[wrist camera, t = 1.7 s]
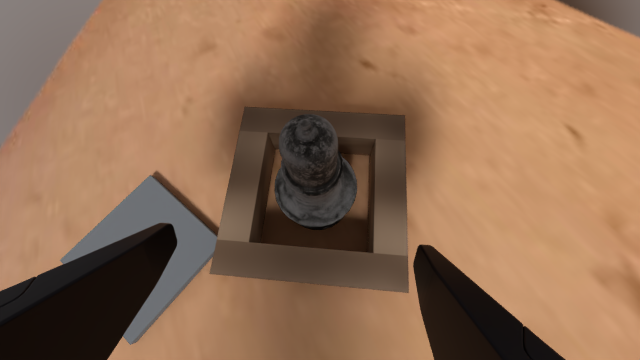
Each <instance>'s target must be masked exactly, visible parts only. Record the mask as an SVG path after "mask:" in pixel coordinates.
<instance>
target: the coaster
mask: <svg viewBox="0 0 640 360" xmlns="http://www.w3.org/2000/svg"><path fill="white" fill-rule="evenodd" d="M158 223H170V224H172V225H173V226H174V230H175V234H176V237H177V247H176V249H175V251H174V253H173V255H172V257H171V259H170V260H169V262H168V264H167V266H166V268H165V270H164V272H163V274H162V276H161V277H160V279H159V281H158V283H157V285H156V286H155V288H154V289H153V291H152V292H151V294H150V295H149V297H148V298H147V300H146V302H145V303H144V305H143V306H142V308H141V309H140V311H139V312H138V314H137V315H136V317H135V318H134V320H133V321H132V323H131V324H130V326H129V327H128V329H127V330H126V332H125V333H124V335H123V337H124V338H125V339H126V340H127V342H128V343H129V344H130V345H131V344H133V343H136V342H137V341H138V340H139V339H140V338H141V336H142V335H143V334H144V333H145V332H146V331H147V330H148V329H149V327H150V326H151V325H152V324H153V323H154V322H155V321H156V320H157V319H158V317H159V316H160V315H161V314H162V313H163V312H164V311H165V310H166V308H167V307H168V306H169V305H170V304H171V303H172V302H173V301H174V299H175V298H176V297H177V296H178V295H179V294H180V293H181V292H182V291H183V289H184V288H185V287H186V286H187V285H188V284H189V283H190V282H191V280H192V279H193V278H194V277H195V276H196V275H197V274H198V273H199V271H200V270H201V269H202V268H203V267H204V266H205V265H206V264H207V262H208V261H209V260H210V259H211V258H212V257H213V255H214V250H215V246H216V241H217V235H216V234H215V233H214V232H213V231H212V230H211V229H210V228H209V227H208V226H207V225H205V224H204V223H203V222H202V221H201V220H200V219H199V218H198V217H197V216H196V215H195V214H194V213H192V212H191V211H190V210H189V209H188V208H187V207H186V206H185V205H184V204H183V203H182V202H181V201H180V200H178V199H177V198H176V197H175V196H174V195H173V194H172V193H171V192H170V191H169V190H168V189H167V188H166V187H164V186H163V185H162V184H161V183H160V182H159V181H158V180H157V179H156V178H155V177H153V176H151V175H150V176H149V177H148V178H146V179H145V180H144V181H143V182H142V183H141V184H140V185H139V186H138V187H137V188H136V189H135V190H134V191H133V192H132V193H131V194H130V195H129V196H127V197H126V198H125V199H124V200H123V201H122V202H121V203H120V204H119V205H118V206H117V207H116V208H115V209H114V210H113V211H112V212H111V213H109V214H108V215H107V216H106V217H105V218H104V219H103V220H102V221H101V222H100V223H99V224H98V225H97V226H96V227H95V228H94V229H93V230H92V231H90V232H89V233H88V234H87V235H86V236H85V237H84V238H83V239H82V240H81V241H80V242H79V243H78V244H77V245H76V246H75V247H74V248H72V249H71V250H70V251H69V252H68V253H67V254H66V255H65V256H64V257H63V258H62V259H61V260H60V261H61V262H62V263H63V264H65V263H68V262H70V261H72V260H75V259H77V258H79V257H82V256H84V255H86V254H89V253H91V252H93V251H95V250H98V249H100V248H102V247H105V246H107V245H109V244H112V243H114V242H116V241H119V240H121V239H123V238H126V237H128V236H130V235H133V234H135V233H137V232H139V231H142V230H144V229H146V228H149V227H151V226H153V225H156V224H158Z"/></svg>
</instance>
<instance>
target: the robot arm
mask: <svg viewBox="0 0 640 360" xmlns="http://www.w3.org/2000/svg"><path fill="white" fill-rule="evenodd" d="M176 247H177V237H176V234H175V230H174V226H173V225H172V224H170V223H158V224H156V225H153V226H151V227H149V228H146V229H144V230H142V231H139V232H137V233H135V234H133V235H130V236H128V237H126V238H123V239H121V240H119V241H116V242H114V243H112V244H109V245H107V246H105V247H102V248H100V249H98V250H95V251H93V252H91V253H89V254H86V255H84V256H82V257H79V258H77V259H75V260H72V261H70V262H68V263H65V264H63V265H61V266H58V267H56V268H54V269H51V270H49V271H47V272H44V273H42V274H40V275H38V276H37V277H33V278H30V279H28V280H26V281H23V282H21V283H19V284H17V285H14V286H12V287H9V288H7V289H5V290H2V291H0V360H107V359H108V358H109V356H110V355H111V353H112V352H113V350H114V349H115V347H116V346H117V344H118V343H119V341H120V340H121V338H122V336H123V335H124V333H125V332H126V330H127V329H128V327H129V326H130V324H131V323H132V321H133V320H134V318H135V317H136V315H137V314H138V312H139V311H140V309H141V308H142V306H143V305H144V303H145V302H146V300H147V298H148V297H149V295H150V294H151V292H152V291H153V289H154V288H155V286H156V285H157V283H158V281H159V279H160V277H161V276H162V274H163V272H164V270H165V268H166V266H167V264H168V262H169V260H170V259H171V257H172V255H173V253H174V251H175V249H176ZM413 267H414V274H415V280H416V286H417V292H418V298H419V304H420V310H421V314H422V318H423V321H424V325H425V328H426V332H427V335H428V339H429V342H430V346H431V349H432V353H433V357H434V360H565V359H564V358H563V357H562V356H560V355H559V354H558V353H557V352H555V351H554V350H553V349H552V348H551V347H549V346H548V345H547V344H546V343H545V342H543V341H542V340H541V339H540V338H539V337H537V336H536V335H535V334H534V333H533V332H532V331H530V330H529V329H528V328H527V327H526V326H523V324H522V323H521V322H520V321H519V320H518V319H516V318H515V317H514V316H513V315H512V314H511V313H509V312H508V311H507V310H506V309H505V308H504V307H502V306H501V305H500V304H499V303H498V302H497V301H495V300H494V299H493V298H492V297H491V296H490V295H488V294H487V293H486V292H485V291H484V290H483V289H481V288H480V287H479V286H478V285H477V284H476V283H474V282H473V281H472V280H471V279H470V278H469V277H467V276H466V275H465V274H464V273H463V272H462V271H461V270H459V269H458V268H457V267H456V266H455V265H454V264H452V263H451V262H450V261H449V260H448V259H447V258H445V257H444V256H443V255H442V254H441V253H440V252H438V251H437V250H436V249H435V248H434V247H432V246H431V245H419V246H418V248H417V252H416V255H415V259H414V265H413Z"/></svg>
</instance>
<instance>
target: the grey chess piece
mask: <svg viewBox="0 0 640 360" xmlns="http://www.w3.org/2000/svg"><path fill="white" fill-rule="evenodd" d="M279 150H280V154H281V156H282V161H281V168H280V169H279V171H278V174H277V177H276V179H275V190H274V191H275V196H276V201H277V203H278V205H279V206H280V208H281V210H282V211H283V212H284V213H285V215H286V216H287V217H288V218H289V219H291V220H293V221H294V222H296V223H298V224H300V225H302V226H303V227H305V228H309V229H313V230H322V229H326V228H330V227H332V226H333V225H335V224H337V223H338V222H339V221H340V220H341V219H342V218H343V217H344V215H345V214H346V213H347V212H348V211H349V210H350V208H351V206H352V205H353V203H354V201H355V197H356V193H357V180H356V177H355V174H354V171H353V169H352V167H351V166H350V164H349V163H348V162H347V161H346V160H345V159H344V158H343V157H342V156H341V153H340V152H339V150H338V137H337V134H336V131H335V129H334V128H333V126H332V125H331V123H330V122H328V121H327V120H326V119H325V118H323V117H321V116H318V115H314V114H303V115H299V116H296V117H295V118H293V119H291V120H290V121H289V122H287V123H286V124H285V126H284V127H283V129H282V130H281V133H280V136H279Z"/></svg>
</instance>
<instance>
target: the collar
mask: <svg viewBox="0 0 640 360" xmlns="http://www.w3.org/2000/svg"><path fill="white" fill-rule="evenodd" d="M303 114H314V115H318V116H321V117H323V118H325V119H326V120H327V121H328V122H330V123H331V125H332V126H333V128H334V129H335V131H336V134H337V137H338V150H339V152H340V153H344V154H360V155H370V171H369V209H368V247H367V252H356V251H345V250H333V249H322V248H310V247H299V246H287V245H276V244H264V243H260V242H261V235H262V229H263V223H264V216H265V210H266V204H267V197H268V191H269V184H270V178H271V172H272V165H273V159H274V153H275V149H279V136H280V133H281V130H282V129H283V127H284V126H285V124H286V123H287V122H289V121H290V120H291V119H293V118H295V117H296V116H299V115H303ZM210 274H216V275H226V276H237V277H247V278H258V279H268V280H279V281H289V282H300V283H310V284H320V285H331V286H341V287H352V288H362V289H373V290H383V291H394V292H404V293H409V282H408V237H407V193H406V148H405V115H387V114H368V113H350V112H331V111H313V110H294V109H276V108H257V107H245V108H244V113H243V118H242V122H241V127H240V132H239V137H238V141H237V146H236V151H235V155H234V160H233V165H232V170H231V174H230V179H229V184H228V189H227V193H226V198H225V203H224V208H223V212H222V217H221V222H220V227H219V231H218V236H217V241H216V246H215V250H214V255H213V260H212V265H211V269H210Z"/></svg>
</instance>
